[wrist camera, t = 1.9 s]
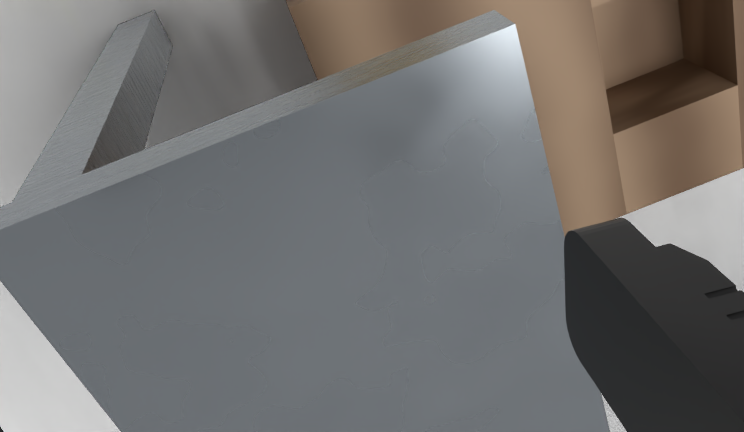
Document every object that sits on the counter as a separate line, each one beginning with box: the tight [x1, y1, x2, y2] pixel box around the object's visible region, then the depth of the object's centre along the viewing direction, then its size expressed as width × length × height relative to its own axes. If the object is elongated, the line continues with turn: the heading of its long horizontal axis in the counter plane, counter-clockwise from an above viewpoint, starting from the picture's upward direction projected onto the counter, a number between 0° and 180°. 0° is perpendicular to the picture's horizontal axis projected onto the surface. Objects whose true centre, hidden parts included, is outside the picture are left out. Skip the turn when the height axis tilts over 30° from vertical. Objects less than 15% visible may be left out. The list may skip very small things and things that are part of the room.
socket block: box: [286, 0, 744, 236], centre depth 30 cm, size 18×14×5 cm
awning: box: [0, 10, 610, 432], centre depth 24 cm, size 11×16×18 cm
